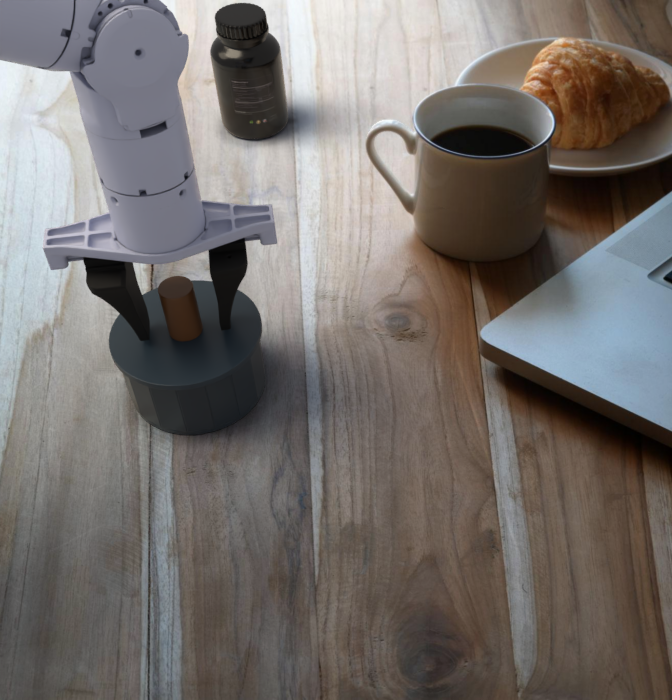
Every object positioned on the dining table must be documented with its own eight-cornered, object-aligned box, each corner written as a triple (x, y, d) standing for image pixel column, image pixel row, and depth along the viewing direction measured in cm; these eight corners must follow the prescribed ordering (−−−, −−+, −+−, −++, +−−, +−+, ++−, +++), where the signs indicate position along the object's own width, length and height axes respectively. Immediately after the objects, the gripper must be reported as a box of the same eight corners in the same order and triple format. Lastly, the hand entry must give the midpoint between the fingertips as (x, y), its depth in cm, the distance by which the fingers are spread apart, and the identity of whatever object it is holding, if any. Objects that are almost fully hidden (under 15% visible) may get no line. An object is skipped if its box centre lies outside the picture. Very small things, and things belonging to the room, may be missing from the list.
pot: (131, 444, 67) (114, 395, 64) (133, 346, 74) (117, 297, 70) (271, 423, 69) (262, 374, 65) (260, 330, 76) (252, 280, 72)
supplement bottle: (218, 110, 98) (199, 0, 89) (282, 101, 100) (270, -7, 91) (227, 146, 94) (208, 34, 85) (294, 136, 95) (283, 26, 87)
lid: (110, 406, 64) (90, 353, 60) (113, 300, 71) (96, 246, 67) (269, 384, 66) (260, 330, 62) (257, 282, 73) (248, 229, 69)
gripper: (260, 121, 61) (281, 276, 71) (28, 143, 59) (83, 300, 69) (269, 185, 56) (290, 341, 66) (17, 212, 54) (78, 370, 64)
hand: (185, 325), depth 67 cm, fingers open, 5 cm apart
